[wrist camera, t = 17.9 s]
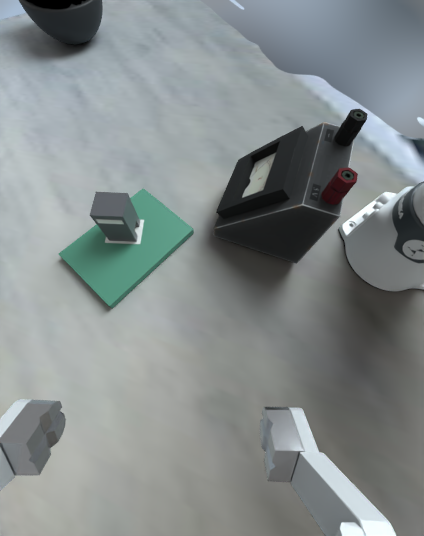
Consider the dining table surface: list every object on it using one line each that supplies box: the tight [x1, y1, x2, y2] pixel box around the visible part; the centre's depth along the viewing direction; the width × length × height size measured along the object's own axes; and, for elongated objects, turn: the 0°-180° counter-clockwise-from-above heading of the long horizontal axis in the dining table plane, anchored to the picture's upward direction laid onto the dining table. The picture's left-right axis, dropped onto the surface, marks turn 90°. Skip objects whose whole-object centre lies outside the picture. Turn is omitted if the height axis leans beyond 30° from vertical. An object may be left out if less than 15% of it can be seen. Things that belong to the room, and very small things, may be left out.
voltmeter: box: [213, 109, 367, 263], centre depth 39 cm, size 16×16×20 cm
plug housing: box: [90, 192, 140, 242], centre depth 41 cm, size 5×4×8 cm
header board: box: [59, 189, 194, 308], centre depth 44 cm, size 20×14×2 cm
